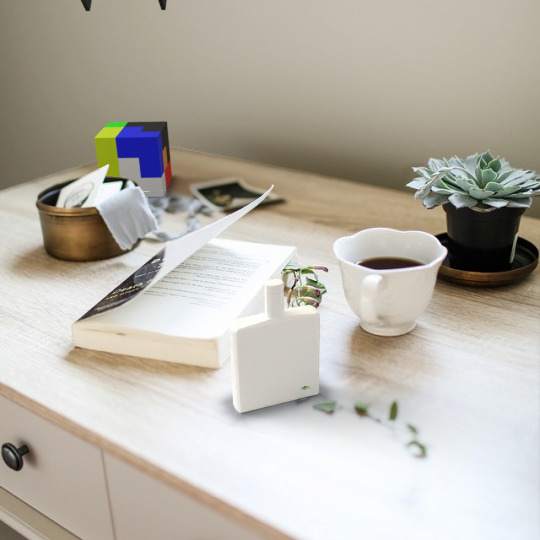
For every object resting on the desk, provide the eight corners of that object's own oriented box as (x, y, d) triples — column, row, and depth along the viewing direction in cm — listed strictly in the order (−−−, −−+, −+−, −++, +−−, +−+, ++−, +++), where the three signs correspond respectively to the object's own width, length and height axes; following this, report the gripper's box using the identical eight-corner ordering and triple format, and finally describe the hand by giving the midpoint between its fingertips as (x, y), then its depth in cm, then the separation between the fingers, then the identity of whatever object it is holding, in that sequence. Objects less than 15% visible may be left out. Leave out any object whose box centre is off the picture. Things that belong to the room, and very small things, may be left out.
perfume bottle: (312, 382, 63) (313, 269, 58) (320, 394, 62) (322, 278, 56) (231, 401, 61) (224, 285, 56) (237, 414, 59) (231, 295, 54)
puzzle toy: (163, 197, 110) (157, 137, 105) (102, 197, 110) (94, 138, 106) (172, 177, 119) (167, 121, 114) (115, 178, 119) (108, 122, 115)
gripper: (207, -75, 126) (197, 18, 119) (78, -72, 128) (61, 20, 121) (200, -109, 119) (190, -12, 112) (63, -106, 121) (45, -9, 114)
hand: (123, 5), depth 117 cm, fingers open, 13 cm apart
